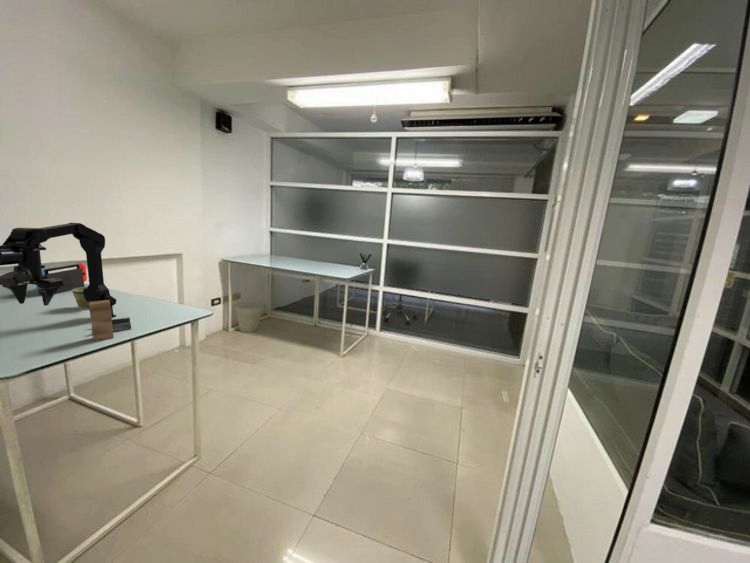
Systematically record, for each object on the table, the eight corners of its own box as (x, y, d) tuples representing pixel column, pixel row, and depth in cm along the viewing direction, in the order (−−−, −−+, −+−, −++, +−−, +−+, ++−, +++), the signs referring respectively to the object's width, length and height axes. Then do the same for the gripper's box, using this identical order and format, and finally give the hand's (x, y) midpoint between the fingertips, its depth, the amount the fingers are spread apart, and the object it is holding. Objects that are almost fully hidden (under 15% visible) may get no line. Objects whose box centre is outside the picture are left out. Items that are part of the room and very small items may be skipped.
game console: (42, 297, 167) (38, 270, 164) (31, 296, 167) (26, 270, 164) (90, 285, 194) (87, 262, 191) (80, 285, 194) (77, 262, 191)
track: (94, 334, 127) (93, 328, 126) (94, 327, 133) (94, 321, 133) (131, 329, 134) (130, 323, 134) (130, 323, 141) (129, 317, 140)
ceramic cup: (71, 308, 154) (68, 288, 152) (96, 303, 162) (93, 285, 160) (83, 313, 148) (80, 293, 146) (108, 308, 157) (106, 289, 155)
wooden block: (93, 337, 124) (89, 301, 121) (113, 334, 128) (109, 300, 125) (93, 341, 121) (88, 304, 118) (113, 338, 125) (109, 302, 122)
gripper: (-25, 263, 105) (-19, 307, 107) (29, 267, 104) (34, 312, 107) (14, 260, 116) (19, 300, 118) (63, 264, 115) (67, 304, 118)
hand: (34, 304), depth 115 cm, fingers open, 9 cm apart
